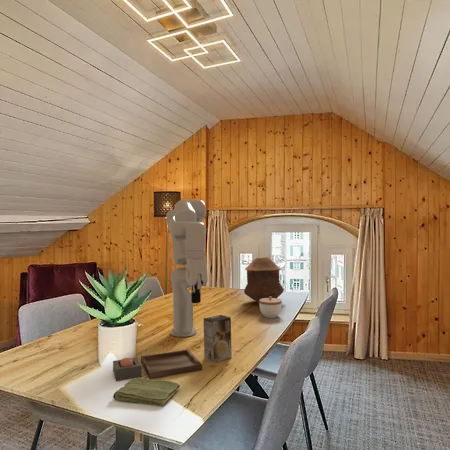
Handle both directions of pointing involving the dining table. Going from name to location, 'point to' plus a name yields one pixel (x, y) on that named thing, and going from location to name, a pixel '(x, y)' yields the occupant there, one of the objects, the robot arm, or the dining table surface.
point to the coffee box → (217, 338)
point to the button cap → (126, 362)
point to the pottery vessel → (263, 279)
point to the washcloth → (146, 391)
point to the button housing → (127, 370)
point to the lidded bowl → (270, 307)
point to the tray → (170, 364)
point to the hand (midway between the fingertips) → (196, 302)
